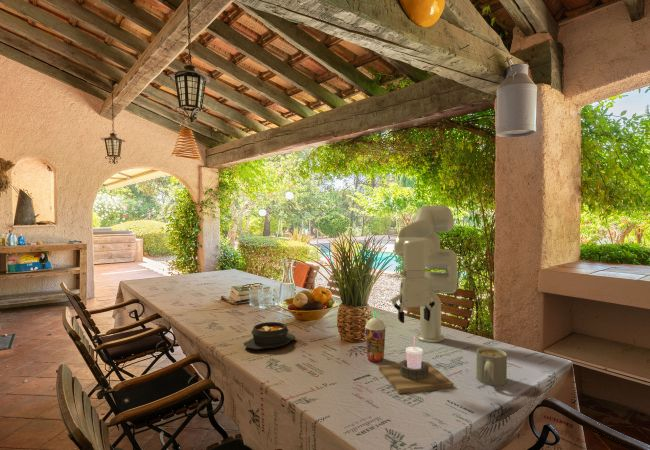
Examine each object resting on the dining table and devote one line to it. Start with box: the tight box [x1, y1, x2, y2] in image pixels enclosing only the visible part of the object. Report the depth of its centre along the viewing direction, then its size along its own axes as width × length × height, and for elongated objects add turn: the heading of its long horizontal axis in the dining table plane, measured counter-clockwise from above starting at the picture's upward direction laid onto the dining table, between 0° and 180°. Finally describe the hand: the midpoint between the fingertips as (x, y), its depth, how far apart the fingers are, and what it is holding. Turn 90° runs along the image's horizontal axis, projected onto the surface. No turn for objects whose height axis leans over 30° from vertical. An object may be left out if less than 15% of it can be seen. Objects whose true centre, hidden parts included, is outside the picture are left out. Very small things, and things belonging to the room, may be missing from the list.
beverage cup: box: [405, 335, 424, 369], centre depth 144 cm, size 6×6×14 cm
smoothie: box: [364, 310, 387, 363], centre depth 161 cm, size 8×8×20 cm
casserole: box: [243, 321, 296, 350], centre depth 181 cm, size 25×19×8 cm
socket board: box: [378, 359, 454, 394], centre depth 144 cm, size 20×20×5 cm
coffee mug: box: [475, 347, 508, 387], centre depth 141 cm, size 13×10×10 cm
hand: (414, 320), depth 143 cm, fingers open, 9 cm apart
